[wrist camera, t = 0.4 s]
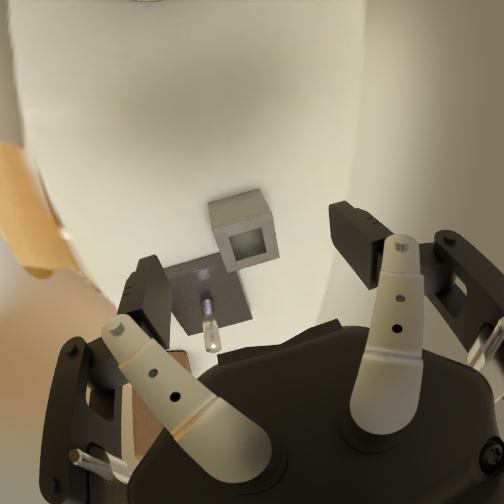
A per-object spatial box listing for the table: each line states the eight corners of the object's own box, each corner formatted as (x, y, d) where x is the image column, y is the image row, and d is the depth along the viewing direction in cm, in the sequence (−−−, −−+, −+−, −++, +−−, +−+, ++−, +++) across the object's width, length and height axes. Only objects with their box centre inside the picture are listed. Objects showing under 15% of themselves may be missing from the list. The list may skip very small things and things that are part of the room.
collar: (208, 203, 28) (212, 230, 25) (259, 189, 29) (271, 213, 25) (221, 243, 32) (227, 272, 28) (267, 230, 32) (279, 257, 28)
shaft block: (153, 271, 32) (150, 331, 26) (230, 249, 33) (244, 307, 26) (187, 325, 40) (192, 377, 34) (249, 308, 41) (263, 359, 34)
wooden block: (131, 351, 42) (133, 460, 27) (186, 348, 45) (200, 459, 30) (144, 375, 49) (150, 467, 34) (191, 373, 51) (205, 465, 36)
